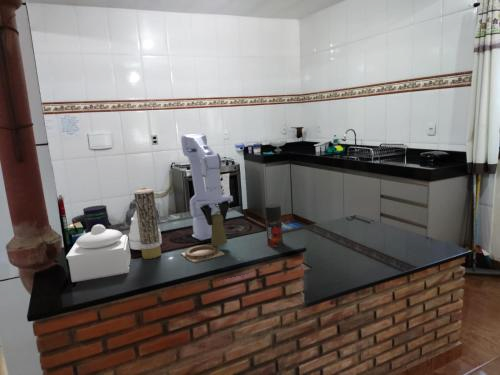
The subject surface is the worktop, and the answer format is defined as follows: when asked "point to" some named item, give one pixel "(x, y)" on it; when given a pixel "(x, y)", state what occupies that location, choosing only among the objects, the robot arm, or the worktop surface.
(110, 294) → the worktop surface
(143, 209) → the wooden log
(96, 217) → the storage jar
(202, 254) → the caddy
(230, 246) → the worktop surface
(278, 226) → the deodorant
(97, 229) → the butter dish
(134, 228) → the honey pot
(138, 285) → the worktop surface
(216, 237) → the khaki cylinder
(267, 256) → the worktop surface
